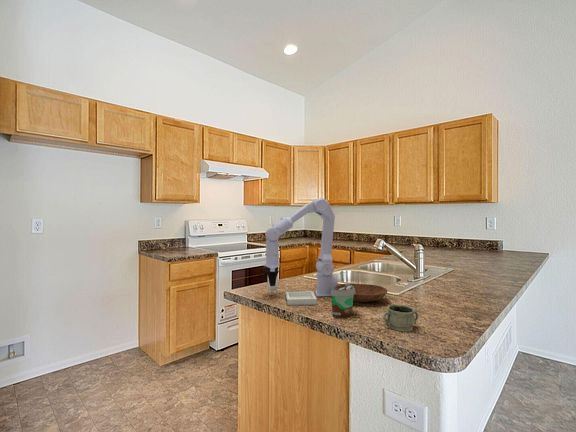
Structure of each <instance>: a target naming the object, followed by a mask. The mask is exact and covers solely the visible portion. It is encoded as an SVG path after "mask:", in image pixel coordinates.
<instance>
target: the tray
mask: <svg viewBox="0 0 576 432" xmlns="http://www.w3.org/2000/svg"><path fill="white" fill-rule="evenodd" d="M285 299H286V305H287V307H289V306H292V307H293V306H317V305H318V298H317V295H316V293H315V292H314V291H312V290H311V291H306V290H305V291H304V290H303V291H302V290H301V291H285Z"/></svg>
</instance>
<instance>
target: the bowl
mask: <svg viewBox="0 0 576 432" xmlns="http://www.w3.org/2000/svg"><path fill="white" fill-rule="evenodd" d="M345 284H346V283H343V284H338V286H336V287H335V289H336V290H337V289H338V288H340V287H344V286H345ZM349 284H350V285H352V286H354V289H355V294H354V295H353V302H360V303H371V302H375V301H379V300H381V299H383V298H384V297H385V296H386V295H387V294H388V289H387V288H385V287H383V286H381V285H376V284H369V283H349Z"/></svg>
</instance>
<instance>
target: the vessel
mask: <svg viewBox="0 0 576 432" xmlns="http://www.w3.org/2000/svg"><path fill="white" fill-rule="evenodd" d="M418 319H419V313H418V312H417V310H415V307H413V306H410V305H406V304H398V303H397V304H396V303H395V304H389V305H388V306H387V311H385V312H384V313H383V320H384V322H385V326H387V327H389V326H390V327H389V328H391V329H393V330H394V331H399V332H411V331H413V330H414V327H413V325H417V321H418Z"/></svg>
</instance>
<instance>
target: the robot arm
mask: <svg viewBox="0 0 576 432" xmlns="http://www.w3.org/2000/svg"><path fill="white" fill-rule="evenodd" d="M311 213H316V214H317V215H319V217H320V218H321V219H322V220H323V221H322V231H321V232H322V233H321V239H320V240H321V243H320V253H319V254H318V259H317V261H316V263H315V268H316V270H317V272H316V290H315V291H314V294H315V296H316V297H332V296H331V289H332V290H336V289H335V287H336V286H338V285H339V282H338V275H336V274H333V273H334V271H335V270H334V269H335V267H334V264H333V257H332V251H333V241H334V240H333V239H334V229H335V221H336V220H335V217H336V216H335V214H334V211H333V209H332V207H331V203H330V202H329V201H328V200H326V199H325V198H323V197H321V198H315V199H313V200H312V201H310V202H307V204H305V205H303V206H302V207H300V208H299V209H298V210H297V211H295V212H294V213H293V214H292V215H290V216H284V217H281V218H280V219H279V220H278V222H276V223H275V224H272V225H271V227H269V228H267V229H266V231H265V234H264V235H265V238H266V240H265V243H266V244H265V263H263V267H266V270H265V272H266V274H267V278H268V277H269V283H270V286H275V284H276V278H277V279H278V274H279V273H280V270H279V267H280V263H279V262H280V261H279V259H280V258H279V257H280V252H279V250H280V248H279V247H280V244H279V238H280V237H281V236H282V235H283V234H285V233H287V232H288V231H289V230H291V229H292V228H293V226H294V223H296V222H297V221H299V220H300V219H302V218H303V217H304V216H306V215H307V214H311Z"/></svg>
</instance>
